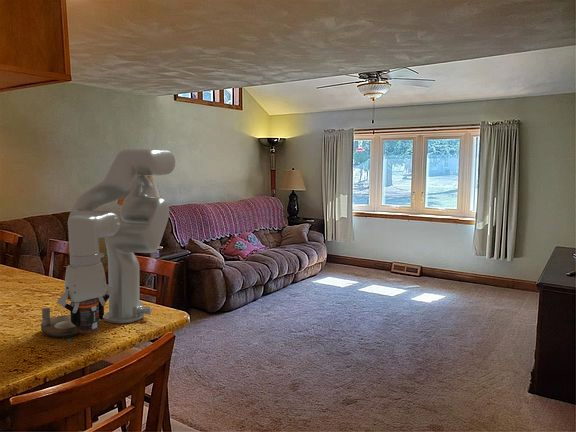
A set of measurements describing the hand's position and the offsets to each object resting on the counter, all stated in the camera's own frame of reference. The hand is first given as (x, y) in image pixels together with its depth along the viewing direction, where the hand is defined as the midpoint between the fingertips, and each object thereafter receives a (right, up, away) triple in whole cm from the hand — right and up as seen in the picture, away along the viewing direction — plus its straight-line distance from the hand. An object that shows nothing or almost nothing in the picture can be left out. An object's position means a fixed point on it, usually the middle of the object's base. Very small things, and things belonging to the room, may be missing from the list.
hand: (88, 321), depth 125 cm
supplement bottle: (0, -3, 0) cm, 3 cm away
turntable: (-10, -3, +7) cm, 13 cm away
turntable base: (-10, -5, +6) cm, 13 cm away
